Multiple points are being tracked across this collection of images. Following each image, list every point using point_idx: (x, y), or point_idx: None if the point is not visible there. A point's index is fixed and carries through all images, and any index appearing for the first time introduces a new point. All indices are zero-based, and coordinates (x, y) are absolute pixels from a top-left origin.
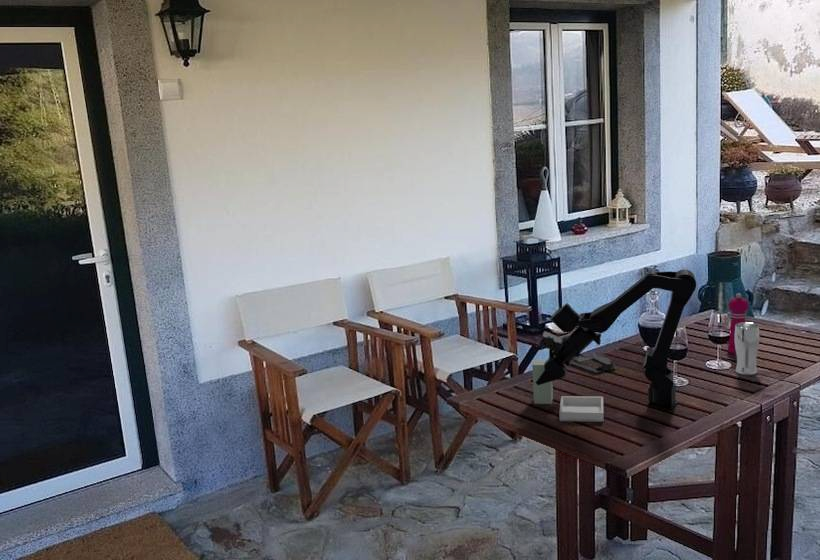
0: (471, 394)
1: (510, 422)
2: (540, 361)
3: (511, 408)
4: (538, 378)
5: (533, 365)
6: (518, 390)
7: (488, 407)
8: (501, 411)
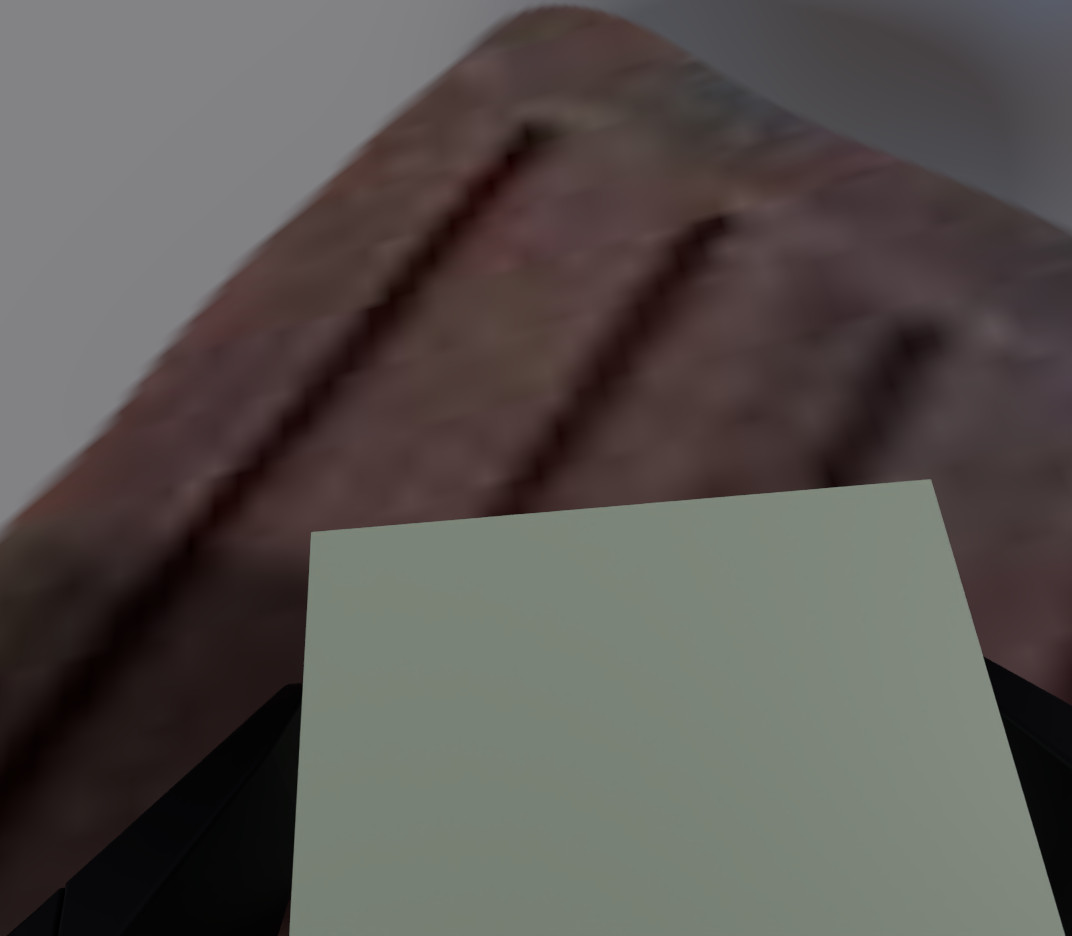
0: (620, 65)
1: (31, 508)
2: (727, 776)
3: (350, 439)
4: (230, 760)
5: (323, 577)
6: (827, 391)
7: (360, 253)
8: (277, 373)
